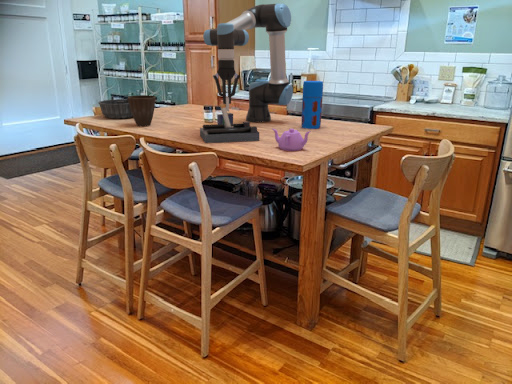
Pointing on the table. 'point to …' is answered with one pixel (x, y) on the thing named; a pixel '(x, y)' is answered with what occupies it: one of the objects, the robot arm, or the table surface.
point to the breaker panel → (229, 133)
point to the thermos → (312, 104)
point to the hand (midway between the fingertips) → (227, 110)
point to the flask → (221, 120)
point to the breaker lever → (225, 115)
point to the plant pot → (142, 109)
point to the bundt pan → (116, 108)
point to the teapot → (291, 140)
